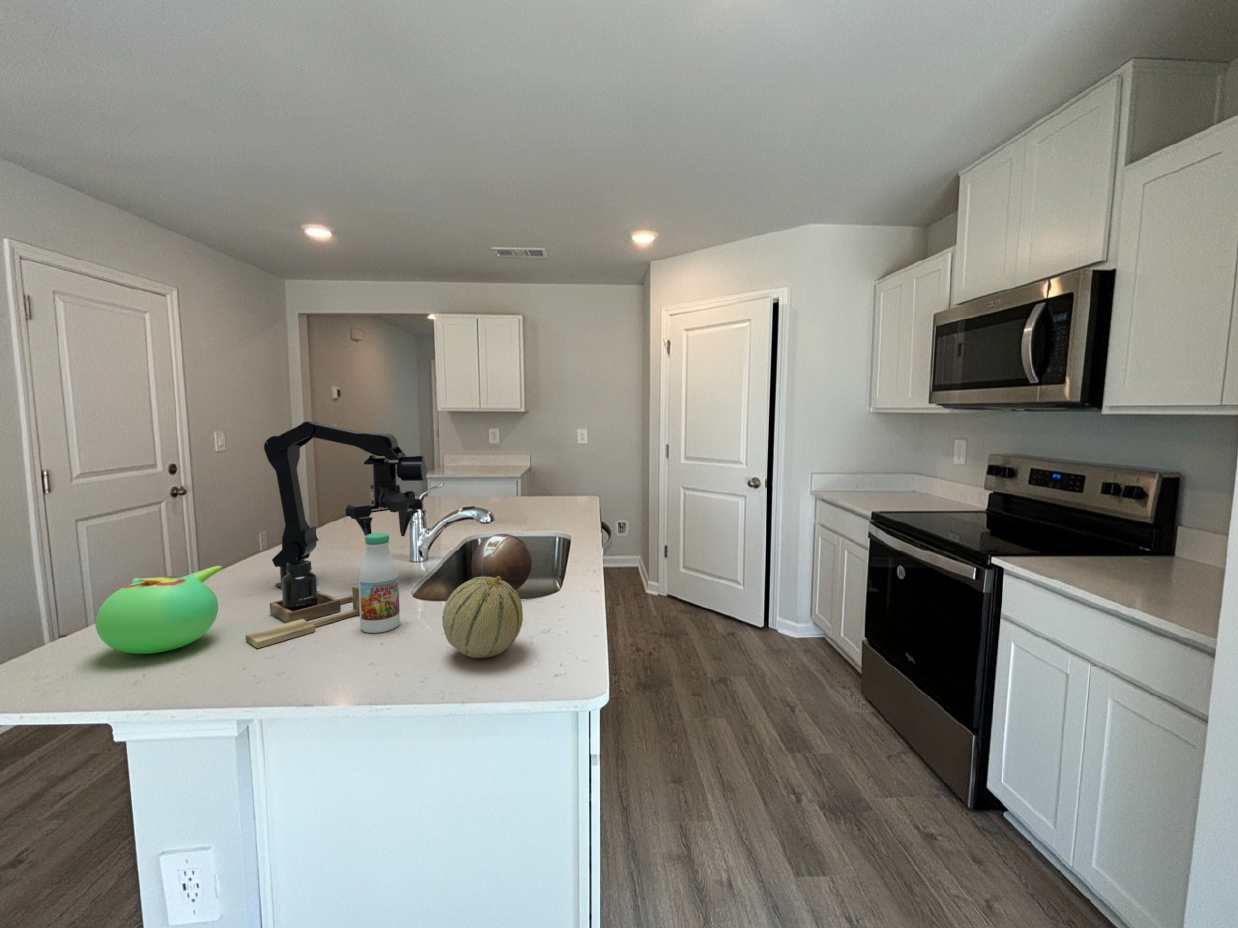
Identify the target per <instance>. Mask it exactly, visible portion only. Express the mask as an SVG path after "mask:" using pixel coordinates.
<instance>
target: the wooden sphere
mask: <svg viewBox="0 0 1238 928" xmlns="http://www.w3.org/2000/svg"><path fill="white" fill-rule="evenodd" d="M470 563H471V566H470V567H471V572H472V577H473V578H476V577H493V578H496V577H497V576H500V577H501V580H502V581H505V582H506V583H508V584H509V585H510V586H511V587H512V588H513V589H514V590H515V591H517V590H519V589H520V588H521V587H522V586H524V584H525V583H526V582H527V580H528V578H529V577H530V574H531V572H532V565H533V560H532V554H531V552H530V550H529V547H528V546H527V545H526V543H525V542H524V541H522V540H521V539H520V538H518V537H517V536H514V535H511V534H508V533H507V534H506V533H499V534H494V535H491V536H489V537H486V538H485V539H484V540H483V541H482V542H480V543H479V544H478V546H477V547H476V548H475V549H474V552H473V554H472V558H471V562H470Z"/></svg>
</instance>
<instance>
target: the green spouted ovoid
mask: <svg viewBox="0 0 1238 928" xmlns="http://www.w3.org/2000/svg"><path fill="white" fill-rule="evenodd" d="M221 569H223V566H222V565H216V566H215V565H214V566H211V567H207V568H204V569H202V570H199V571H196V572H193V573H190V574H187V575H184V576H175V575H170V576H158V577H145V578H141V577H135V578H132V580H131V583H130V584H128V585H126V586H123V587H121V588H119V589H118V590H116V591H115V592H113V593H112V594H111V595H109V597H108V598H106V599H105V600H104V602H103V603H102V604H101V606H100V608H99V609H98V611H97V614H96V617H95V629H96V633H97V635H98V637H99V638H100V640H101V641H102V642H103V643H104V644H105V645H106V646H108V647H110V648H111V649H114V650H116V651H118V652H119V651H120V652H124V653H129V654H136V655H137V654H138V655H148V654H150V655H151V654H158V653H164V652H168V651H172V650H173V651H174V650H176V649H180V648H182V647H185V646H187V645H189V644H191V643H193V642H195V641H196V640H198V639H200V638H201V637H202V636H204V635H205V634H206V633H207V632H208V631H209V630H210V629H211V627H212V626H213V624H214V622H215V621H216V619H217V617H218V612H219V602H218V601H219V600H218V598H217V596H216V594H215V591H213V590H212V588H211V587H209V586H208V585H207V584H205V582H206V581H207V580H209V579H210V578H211V577H213V576H214V575H216V574H217V573H218V572H219V571H221Z"/></svg>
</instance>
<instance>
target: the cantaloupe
mask: <svg viewBox="0 0 1238 928" xmlns="http://www.w3.org/2000/svg"><path fill="white" fill-rule="evenodd" d="M442 611H443V612H442V616H441V618H442V619H441V621H442V629H443V631H444V632H443V633H444V635H445V638H446V640H447V642H448V644H449V645H451V646H452V648H454V649H455V650H456V651H458V652H459V653H460V654H463V655H465V656H468V657H470V658H474V659H483V658H492V657H495V656H498V655H500V654H501V653H503V652H505V650H506V649H509V647H510V646H512V645H513V643H514V642H515V640H516V639H517V637H518V636H519V634H520V632H521V629H522V625H523V620H524V614H523V604H522V600H521V597H520V596H519V593H518V592H517V590H514V589H513V588H512V587H511V586H510V585H509V584H508V583H506V582H505V581H502V580H501V577H500V576H497V577H496V578H493V577H476V578H474V577H473V578H471V579H469V580H467V581H465V582H464V583H462V584H460V585H459V586H458V587H457V588H456V589H454V590H453V592H452V593H451V594H450V595H449V597H448V598H447V601H446V602H445V604H444V608H443V610H442Z"/></svg>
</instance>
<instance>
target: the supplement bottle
mask: <svg viewBox="0 0 1238 928" xmlns="http://www.w3.org/2000/svg"><path fill="white" fill-rule="evenodd" d="M312 569H313V567H312V561H311V560H308V559H305V560H299V561H293V562H289V563H287V570H286V572H287V573H288V574H287V575H286V576H284V577H283V579H282V588H281V598H282V599H281V600H282V605H283V607H284V608H286V609H288V610H290V611H292V612H293V611H296V610H300V609H304V608H308V607H312V606H316V605H319V603H317V591H318V577H317V575H316V573H314V572H312Z"/></svg>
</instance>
